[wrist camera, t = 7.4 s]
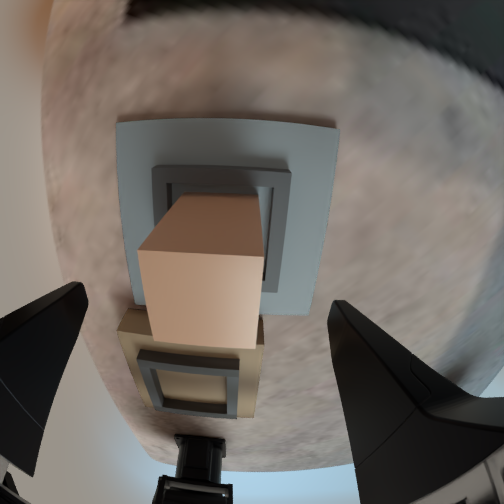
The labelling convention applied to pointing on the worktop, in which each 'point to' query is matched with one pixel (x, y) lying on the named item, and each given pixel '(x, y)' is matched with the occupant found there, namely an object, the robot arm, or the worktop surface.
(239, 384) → the beige square socket
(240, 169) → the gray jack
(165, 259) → the plug
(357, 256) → the worktop surface
